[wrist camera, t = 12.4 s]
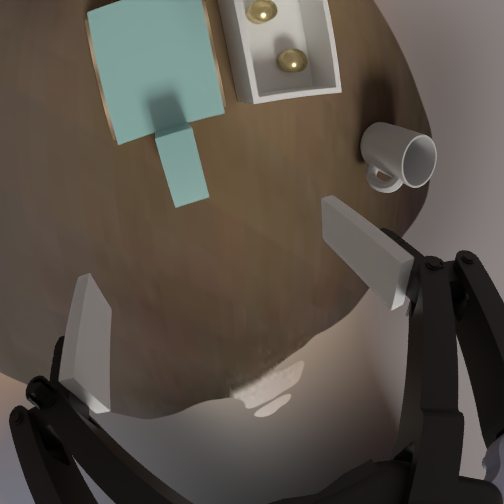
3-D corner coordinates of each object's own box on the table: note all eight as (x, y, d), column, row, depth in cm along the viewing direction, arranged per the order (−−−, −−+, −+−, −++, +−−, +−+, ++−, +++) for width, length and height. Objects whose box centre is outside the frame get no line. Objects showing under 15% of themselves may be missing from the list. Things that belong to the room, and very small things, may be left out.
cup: (400, 139, 39) (442, 155, 32) (369, 189, 42) (407, 213, 35) (375, 111, 35) (420, 123, 28) (340, 166, 39) (381, 188, 31)
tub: (215, -6, 22) (228, -24, 17) (297, -10, 24) (322, -22, 19) (237, 101, 30) (253, 104, 25) (314, 89, 32) (341, 92, 27)
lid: (89, 15, 17) (76, 1, 13) (195, -13, 19) (205, -33, 15) (138, 199, 30) (136, 220, 25) (233, 169, 31) (248, 185, 27)
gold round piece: (274, 51, 27) (282, 49, 25) (296, 50, 28) (305, 48, 26) (278, 73, 29) (286, 73, 27) (299, 71, 29) (309, 71, 27)
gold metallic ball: (243, 4, 23) (249, -1, 21) (267, 3, 23) (275, -2, 22) (247, 25, 25) (254, 21, 23) (271, 23, 25) (279, 19, 23)
